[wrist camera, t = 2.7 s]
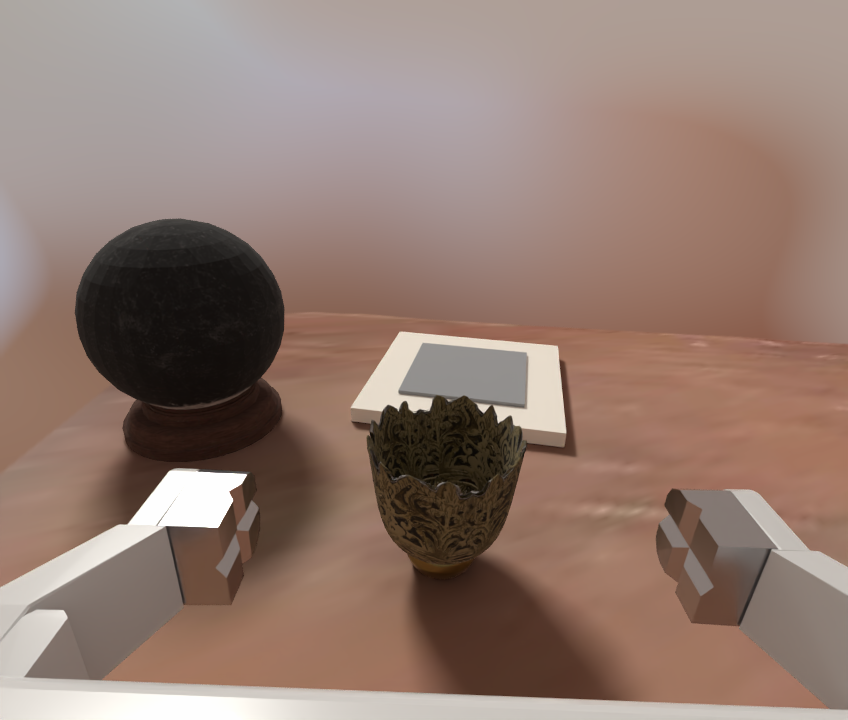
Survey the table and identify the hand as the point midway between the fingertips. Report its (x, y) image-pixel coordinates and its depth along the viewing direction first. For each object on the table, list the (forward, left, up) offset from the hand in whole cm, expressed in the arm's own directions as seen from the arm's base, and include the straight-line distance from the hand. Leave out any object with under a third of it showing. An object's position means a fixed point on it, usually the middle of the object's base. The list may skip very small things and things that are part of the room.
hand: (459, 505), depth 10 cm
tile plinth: (+3, -32, -14) cm, 35 cm away
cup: (+2, -12, -14) cm, 19 cm away
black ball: (+22, -22, -14) cm, 34 cm away
